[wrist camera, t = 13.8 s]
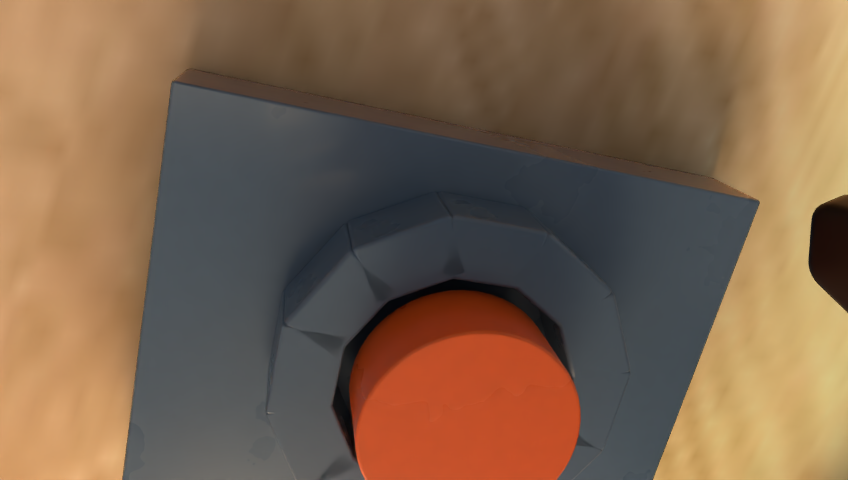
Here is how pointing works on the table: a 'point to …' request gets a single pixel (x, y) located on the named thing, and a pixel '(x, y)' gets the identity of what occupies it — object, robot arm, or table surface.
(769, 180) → the table surface
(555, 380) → the button
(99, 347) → the table surface
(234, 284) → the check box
